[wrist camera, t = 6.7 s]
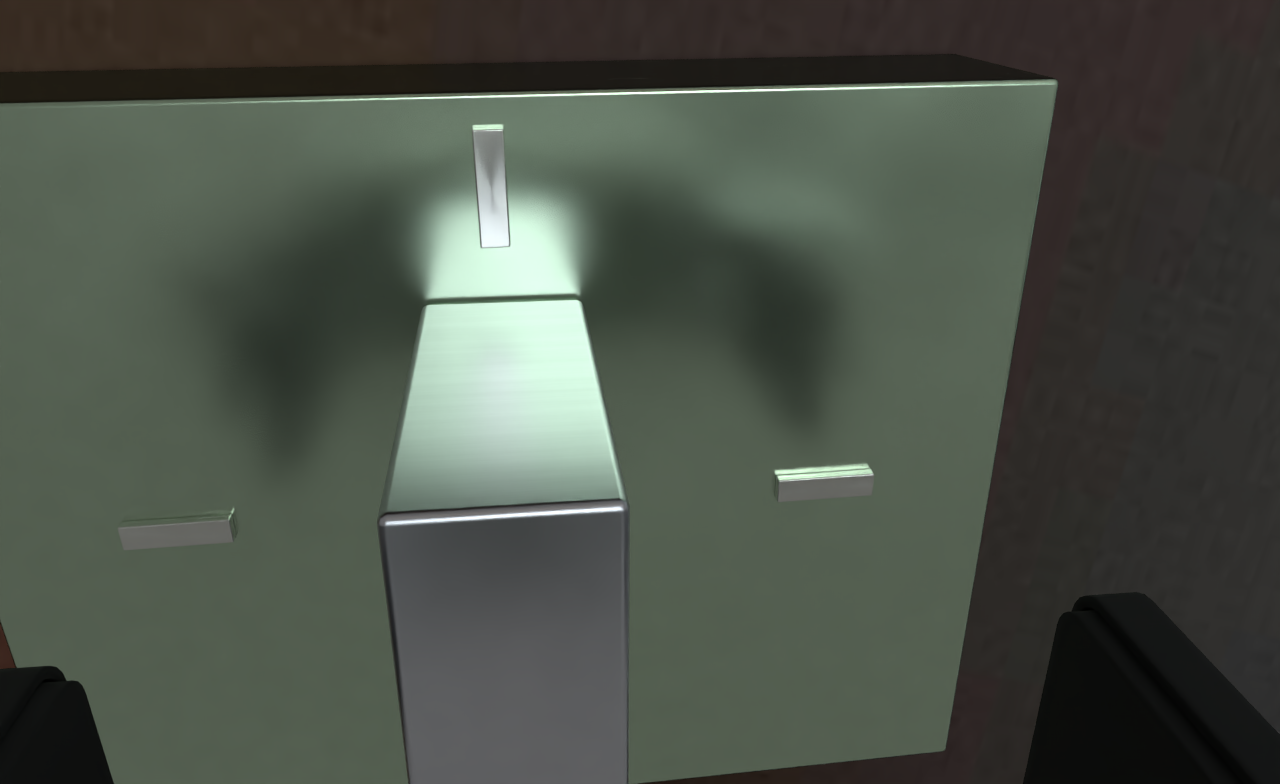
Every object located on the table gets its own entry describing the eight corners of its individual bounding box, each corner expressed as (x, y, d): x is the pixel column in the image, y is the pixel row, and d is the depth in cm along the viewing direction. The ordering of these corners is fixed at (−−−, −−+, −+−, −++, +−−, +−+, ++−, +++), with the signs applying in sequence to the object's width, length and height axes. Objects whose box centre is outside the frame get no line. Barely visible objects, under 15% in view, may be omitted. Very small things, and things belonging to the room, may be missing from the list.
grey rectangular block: (421, 302, 12) (369, 536, 7) (582, 297, 12) (634, 520, 8) (454, 683, 14) (433, 1040, 10) (588, 672, 15) (630, 1016, 10)
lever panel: (957, 54, 15) (1069, 79, 12) (884, 639, 19) (951, 759, 16) (-41, 72, 13) (-194, 108, 10) (140, 707, 18) (70, 854, 15)
